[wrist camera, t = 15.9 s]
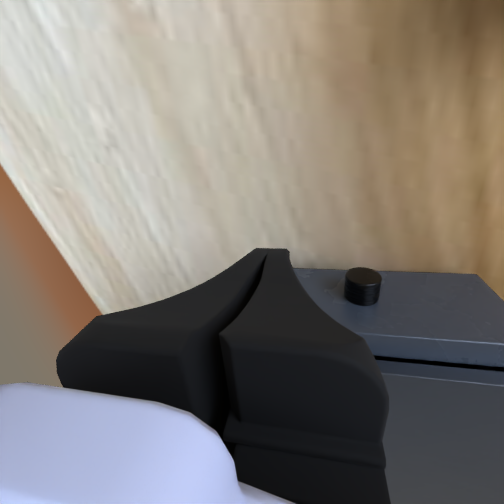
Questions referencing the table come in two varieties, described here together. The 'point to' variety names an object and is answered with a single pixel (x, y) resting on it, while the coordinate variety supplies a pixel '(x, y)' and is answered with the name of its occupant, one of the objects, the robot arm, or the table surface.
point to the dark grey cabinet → (444, 434)
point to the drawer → (414, 314)
